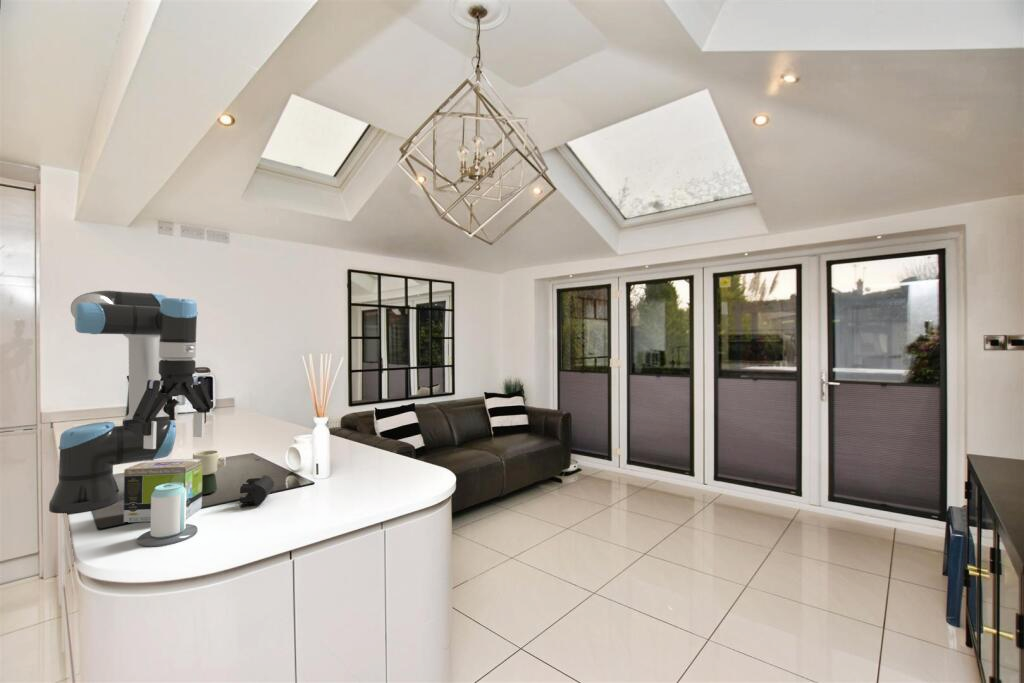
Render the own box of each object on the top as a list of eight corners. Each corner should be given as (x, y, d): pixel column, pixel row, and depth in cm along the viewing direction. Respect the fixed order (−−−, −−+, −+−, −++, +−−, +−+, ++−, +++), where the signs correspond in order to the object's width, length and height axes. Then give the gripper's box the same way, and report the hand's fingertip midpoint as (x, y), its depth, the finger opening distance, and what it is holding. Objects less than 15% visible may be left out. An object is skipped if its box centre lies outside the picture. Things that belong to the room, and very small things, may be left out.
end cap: (265, 506, 134) (266, 484, 134) (239, 508, 132) (239, 485, 132) (273, 495, 144) (274, 474, 144) (248, 497, 142) (249, 475, 142)
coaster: (123, 544, 108) (123, 541, 108) (169, 524, 120) (169, 522, 120) (166, 549, 106) (167, 546, 106) (209, 528, 118) (209, 526, 118)
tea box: (202, 507, 132) (204, 457, 132) (184, 521, 122) (185, 466, 122) (145, 510, 130) (146, 458, 130) (121, 523, 120) (122, 468, 120)
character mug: (227, 488, 150) (228, 449, 150) (221, 495, 143) (222, 454, 143) (189, 491, 146) (190, 451, 146) (181, 498, 139) (182, 456, 139)
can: (142, 539, 110) (143, 489, 110) (166, 527, 117) (167, 480, 117) (170, 540, 109) (171, 490, 109) (192, 528, 116) (193, 481, 116)
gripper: (141, 361, 102) (139, 455, 102) (229, 358, 126) (227, 433, 126) (114, 360, 103) (111, 453, 103) (206, 357, 128) (204, 431, 128)
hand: (175, 442), depth 115 cm, fingers open, 13 cm apart
